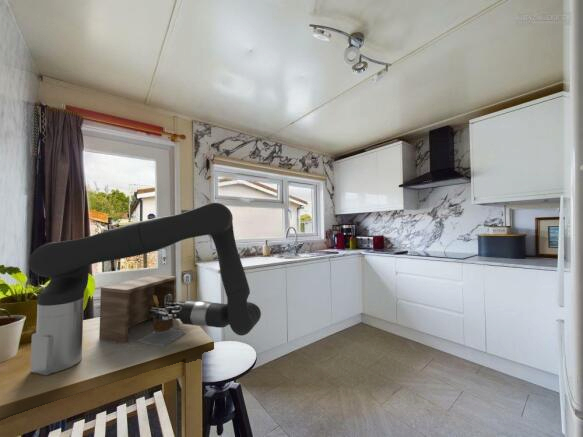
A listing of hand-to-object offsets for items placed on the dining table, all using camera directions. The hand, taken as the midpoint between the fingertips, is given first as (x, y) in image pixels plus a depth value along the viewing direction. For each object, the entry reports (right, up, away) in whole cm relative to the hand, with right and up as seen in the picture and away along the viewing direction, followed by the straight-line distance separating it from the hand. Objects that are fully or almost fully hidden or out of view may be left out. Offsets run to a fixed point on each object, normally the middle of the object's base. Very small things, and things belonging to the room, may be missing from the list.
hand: (157, 308), depth 83 cm
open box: (-10, -10, +7) cm, 15 cm away
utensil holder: (+3, -7, -1) cm, 7 cm away
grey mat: (+2, -9, -1) cm, 10 cm away
